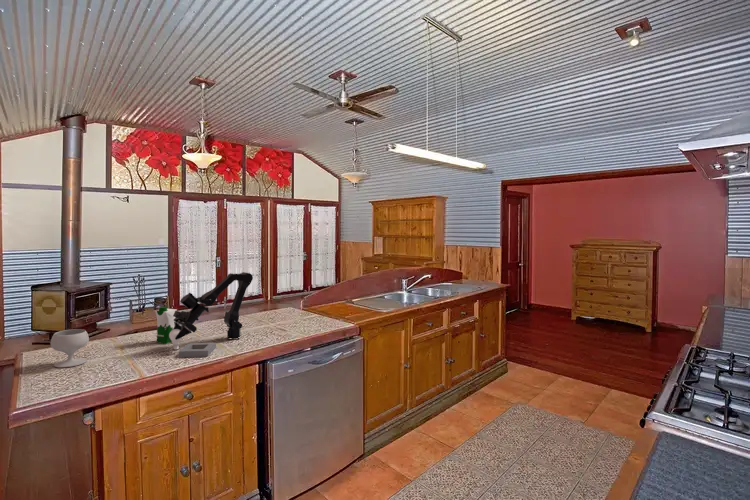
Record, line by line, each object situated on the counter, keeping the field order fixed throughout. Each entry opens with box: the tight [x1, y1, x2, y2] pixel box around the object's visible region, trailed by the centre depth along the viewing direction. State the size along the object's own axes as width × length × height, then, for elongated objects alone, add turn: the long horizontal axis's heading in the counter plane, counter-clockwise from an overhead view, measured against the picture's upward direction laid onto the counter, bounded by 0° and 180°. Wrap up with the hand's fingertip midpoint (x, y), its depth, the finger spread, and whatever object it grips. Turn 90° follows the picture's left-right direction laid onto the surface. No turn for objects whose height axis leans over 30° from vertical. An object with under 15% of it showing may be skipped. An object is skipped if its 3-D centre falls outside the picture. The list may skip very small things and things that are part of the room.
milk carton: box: [154, 306, 178, 345], centre depth 216 cm, size 9×9×20 cm
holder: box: [177, 342, 217, 358], centre depth 197 cm, size 14×14×3 cm
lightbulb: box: [169, 329, 183, 351], centre depth 201 cm, size 6×6×11 cm
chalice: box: [50, 328, 90, 368], centre depth 179 cm, size 14×14×15 cm
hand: (173, 337), depth 200 cm, fingers open, 7 cm apart
